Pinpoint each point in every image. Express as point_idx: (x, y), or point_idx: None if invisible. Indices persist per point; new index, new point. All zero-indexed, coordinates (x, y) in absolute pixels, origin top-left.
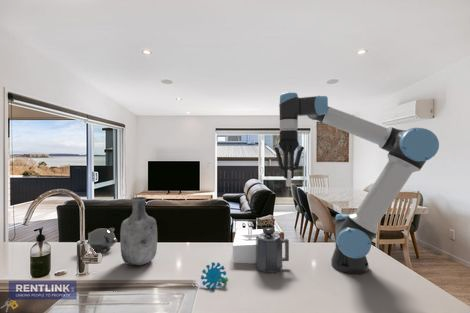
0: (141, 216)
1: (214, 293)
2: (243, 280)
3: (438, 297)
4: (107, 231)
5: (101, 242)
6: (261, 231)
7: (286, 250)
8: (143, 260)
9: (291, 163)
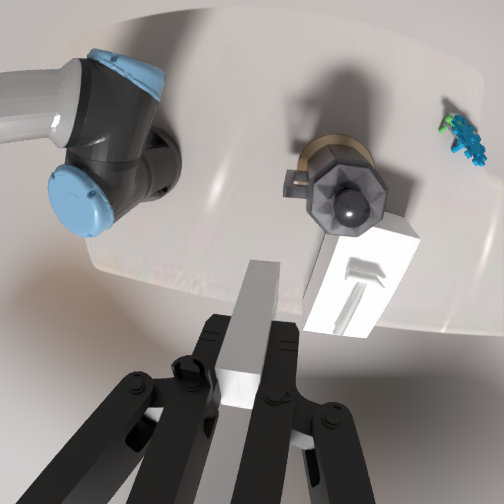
0: None
1: (461, 105)
2: (406, 135)
3: None
4: None
5: None
6: (313, 316)
7: (292, 177)
8: None
9: (183, 455)
